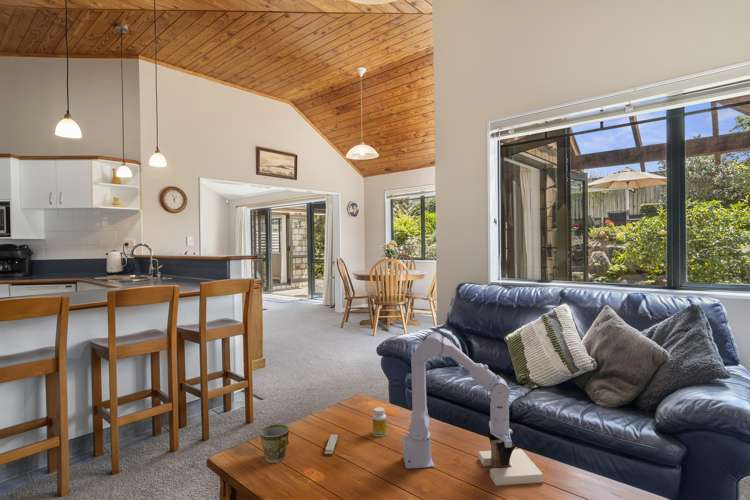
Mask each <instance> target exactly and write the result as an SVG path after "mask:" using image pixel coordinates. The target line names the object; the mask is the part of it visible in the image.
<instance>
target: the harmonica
mask: <svg viewBox="0 0 750 500" xmlns="http://www.w3.org/2000/svg"><path fill="white" fill-rule="evenodd" d="M338 436H339V434H330V436H329V438H328V441H327V444H326V447H325V451H324V453H323V456H324V457H333V456H334V452H333V451H335V449H336V446H337V443H336V442H338V439H339V437H338ZM335 445H336V446H335ZM334 448H335V449H334Z"/></svg>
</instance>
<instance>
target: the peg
mask: <svg viewBox="0 0 750 500" xmlns="http://www.w3.org/2000/svg"><path fill="white" fill-rule="evenodd" d="M501 442H502V440H491V443H490V451H491V466H490V468H491V469H493V468H509V467H510V461H509V464H508V465H504V466H502V465H501V461H500V454H499V450H498V448H497V445H496V443H501Z"/></svg>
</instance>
